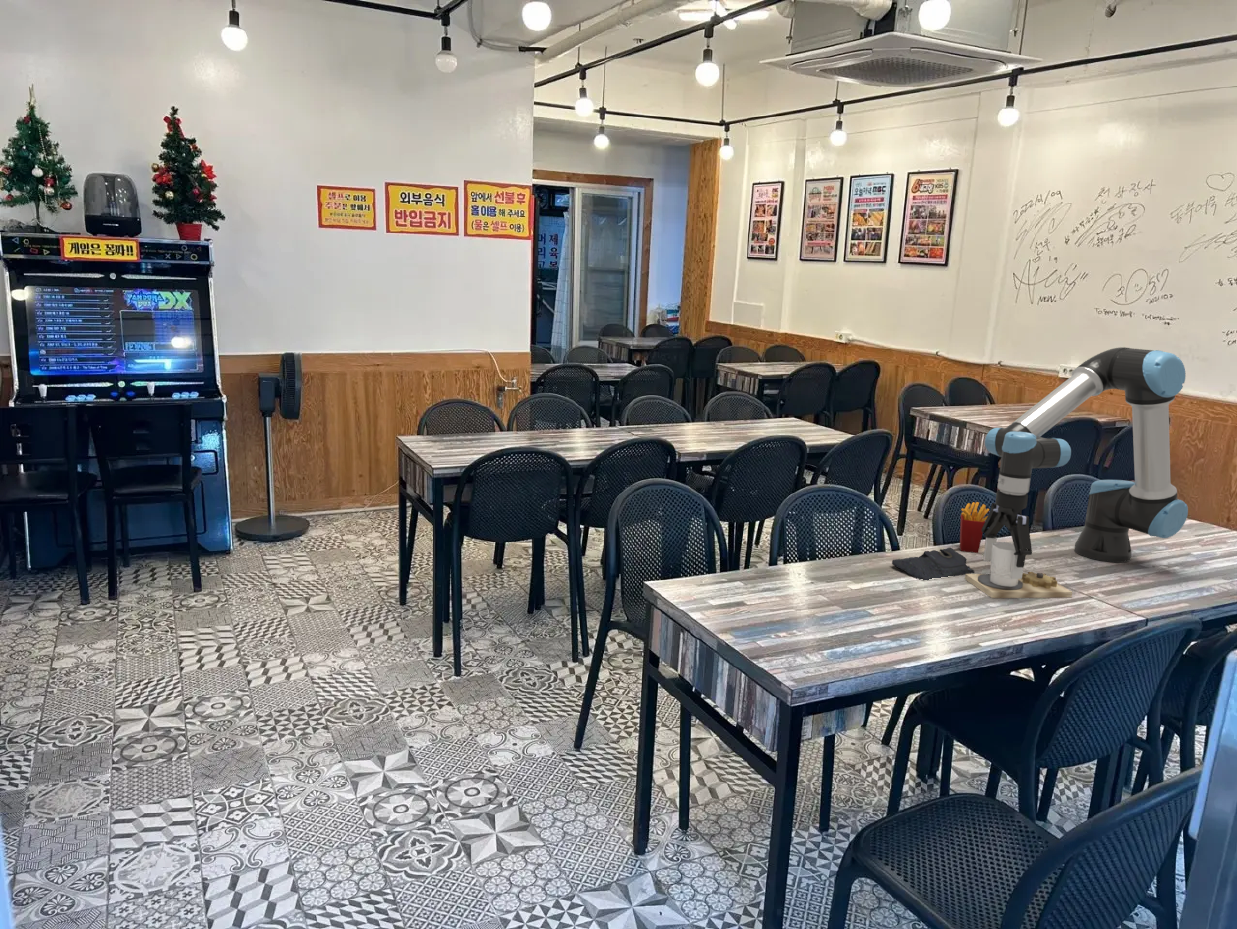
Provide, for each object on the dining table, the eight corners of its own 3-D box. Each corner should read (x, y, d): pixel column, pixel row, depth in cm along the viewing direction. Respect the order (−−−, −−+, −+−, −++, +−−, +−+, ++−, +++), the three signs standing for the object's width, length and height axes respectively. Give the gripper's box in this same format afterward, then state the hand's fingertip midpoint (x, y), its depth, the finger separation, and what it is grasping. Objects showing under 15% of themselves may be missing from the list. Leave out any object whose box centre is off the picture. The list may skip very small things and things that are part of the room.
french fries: (957, 551, 262) (963, 503, 259) (955, 543, 270) (961, 497, 267) (989, 555, 260) (995, 506, 256) (986, 547, 267) (992, 500, 264)
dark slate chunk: (882, 566, 247) (883, 550, 246) (938, 557, 257) (939, 542, 256) (922, 583, 234) (925, 567, 233) (980, 573, 244) (982, 557, 243)
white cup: (1013, 578, 233) (1018, 542, 231) (1024, 588, 225) (1029, 552, 223) (983, 576, 234) (988, 540, 232) (992, 586, 226) (997, 550, 224)
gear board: (1040, 578, 240) (1042, 565, 239) (1071, 597, 227) (1073, 582, 226) (964, 579, 238) (966, 565, 237) (991, 597, 224) (993, 583, 223)
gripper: (974, 480, 237) (965, 554, 242) (1026, 504, 213) (1014, 586, 218) (1000, 480, 238) (990, 554, 243) (1054, 504, 214) (1042, 586, 219)
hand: (1001, 569), depth 230 cm, fingers open, 13 cm apart
